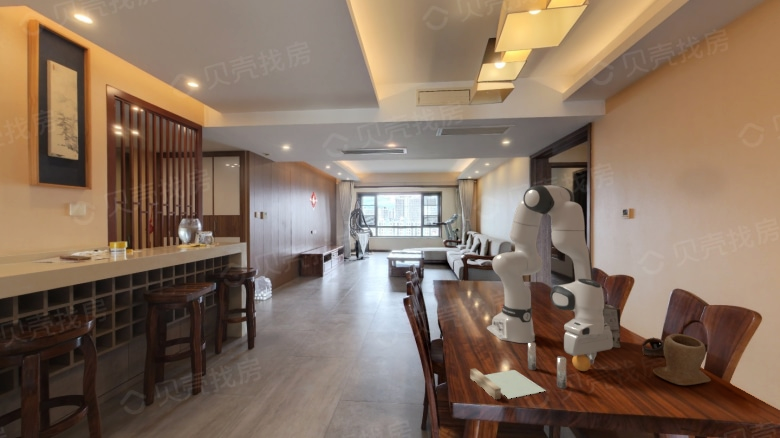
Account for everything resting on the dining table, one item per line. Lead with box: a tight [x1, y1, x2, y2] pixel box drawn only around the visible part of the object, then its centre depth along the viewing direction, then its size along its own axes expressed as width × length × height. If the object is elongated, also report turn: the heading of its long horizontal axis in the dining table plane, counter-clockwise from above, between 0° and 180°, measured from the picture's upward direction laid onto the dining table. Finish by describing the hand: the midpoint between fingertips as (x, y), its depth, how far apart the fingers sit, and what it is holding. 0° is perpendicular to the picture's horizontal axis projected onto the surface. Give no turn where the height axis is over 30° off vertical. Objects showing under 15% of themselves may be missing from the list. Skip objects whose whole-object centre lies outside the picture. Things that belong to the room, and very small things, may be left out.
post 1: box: [527, 341, 537, 371], centre depth 109 cm, size 3×3×9 cm
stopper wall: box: [469, 368, 502, 400], centre depth 96 cm, size 13×2×3 cm, turn 18°
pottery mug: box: [641, 337, 665, 357], centre depth 119 cm, size 12×10×8 cm
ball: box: [571, 355, 592, 372], centre depth 107 cm, size 6×6×6 cm
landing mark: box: [483, 369, 547, 400], centre depth 98 cm, size 14×14×1 cm
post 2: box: [556, 356, 567, 390], centre depth 97 cm, size 3×3×9 cm
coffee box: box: [603, 303, 621, 349], centre depth 132 cm, size 9×6×16 cm
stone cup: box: [652, 333, 712, 386], centre depth 100 cm, size 15×12×15 cm
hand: (589, 363), depth 109 cm, fingers closed
